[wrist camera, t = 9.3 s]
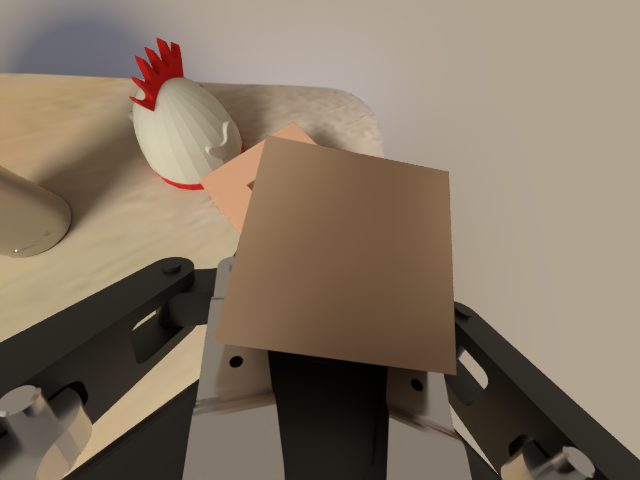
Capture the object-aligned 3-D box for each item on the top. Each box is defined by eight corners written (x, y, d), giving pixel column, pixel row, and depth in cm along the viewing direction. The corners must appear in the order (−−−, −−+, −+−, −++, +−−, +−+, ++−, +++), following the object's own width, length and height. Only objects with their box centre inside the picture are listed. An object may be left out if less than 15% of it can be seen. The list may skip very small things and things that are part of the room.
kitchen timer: (258, 137, 40) (241, 39, 26) (215, 204, 36) (166, 129, 21) (183, 105, 40) (126, -10, 26) (131, 167, 36) (27, 69, 22)
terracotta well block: (215, 205, 35) (198, 180, 29) (293, 154, 40) (293, 121, 33) (281, 282, 33) (278, 273, 27) (355, 218, 37) (369, 197, 31)
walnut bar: (270, 322, 17) (212, 342, 4) (282, 263, 19) (266, 134, 5) (330, 330, 18) (456, 374, 4) (337, 272, 19) (448, 171, 6)
